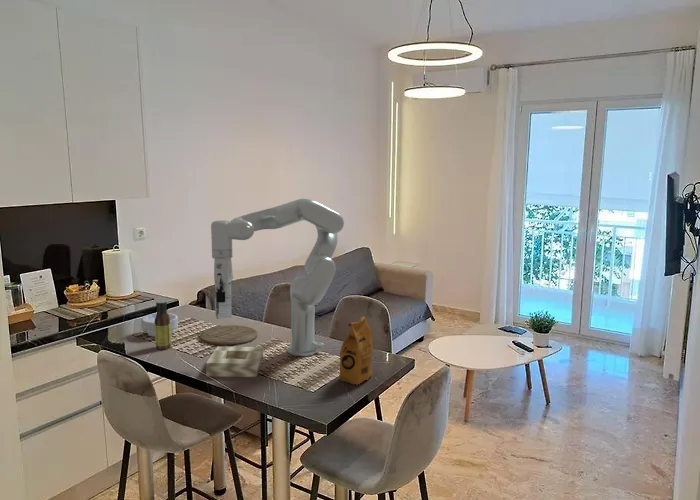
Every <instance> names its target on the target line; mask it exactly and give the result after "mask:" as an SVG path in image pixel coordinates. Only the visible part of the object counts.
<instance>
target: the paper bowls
mask: <svg viewBox="0 0 700 500" xmlns="http://www.w3.org/2000/svg"><path fill="white" fill-rule="evenodd" d="M167 313H168V312H167ZM156 314H157V313H152V314H148V315H146V316H143V317H142V319H141V321H142V322H141V330H142V331H143V332H145V333H147V335H148V336H149V337H153V338H155V323H154V321H155V318H156ZM168 314H169V317H170V324H171V335H172V334H173V333H174V331H175V330H176V329H178V328H179V317H178V315H177V314H174V313H168Z"/></svg>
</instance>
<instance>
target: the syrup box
mask: <svg viewBox="0 0 700 500" xmlns="http://www.w3.org/2000/svg"><path fill="white" fill-rule="evenodd" d="M220 283H222V282H220ZM214 286H215V288H214V291H215V293H214V298H215V300H214V301H215V302H214V305H215V318H216V319H218V320H219V319H221V320H222V319H231V318H232V315H233V314H232V281H229V284H228V285H226V284H225V288H224V292H225V302H217V301H216V284H215V283H214Z"/></svg>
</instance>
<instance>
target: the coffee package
mask: <svg viewBox="0 0 700 500" xmlns="http://www.w3.org/2000/svg"><path fill="white" fill-rule="evenodd" d="M347 327H349V328H350V330H349V331H348V334H347V337H346V339H344V341H343V343H342V345H341V348H340V352H339V361H340V363H339V380H340V381H341V382H345V383H347V382H348V384H351V385H355V384H356V385H355V386H359V385H361V384H362V383H363V382H366V381H365V380H367V381H368V380H369V379H370V378H371V377H372V376H373V374H372V371H373V369H372V368H373V353H374V351H373V350H374V349H373V348H374V347H373V343H374V342H373V335H372V331H371V327H370V326H369V323H368V321H367V319H366V317H365V316H360V318H359V321H355V322H349V323H348V324H347ZM371 375H372V376H371ZM360 383H361V384H360ZM358 384H359V385H358Z"/></svg>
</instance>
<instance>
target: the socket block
mask: <svg viewBox="0 0 700 500" xmlns="http://www.w3.org/2000/svg"><path fill="white" fill-rule="evenodd" d="M263 360H264V347H262V346H261V347H259V346H258V347H257V346H217V347H216V348H215V349H214V351H213V352H212V354H210V357H209V358H208V359H207V361H206V365H205V366H206V367H205V370H206V371H205V373H206V374H205V375H206V377H225V378H226V377H235V378H237V377H240V378H241V377H242V378H244V377H245V378H257V377H258V374H259V372H260V369H261V367H262V363H263Z"/></svg>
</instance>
